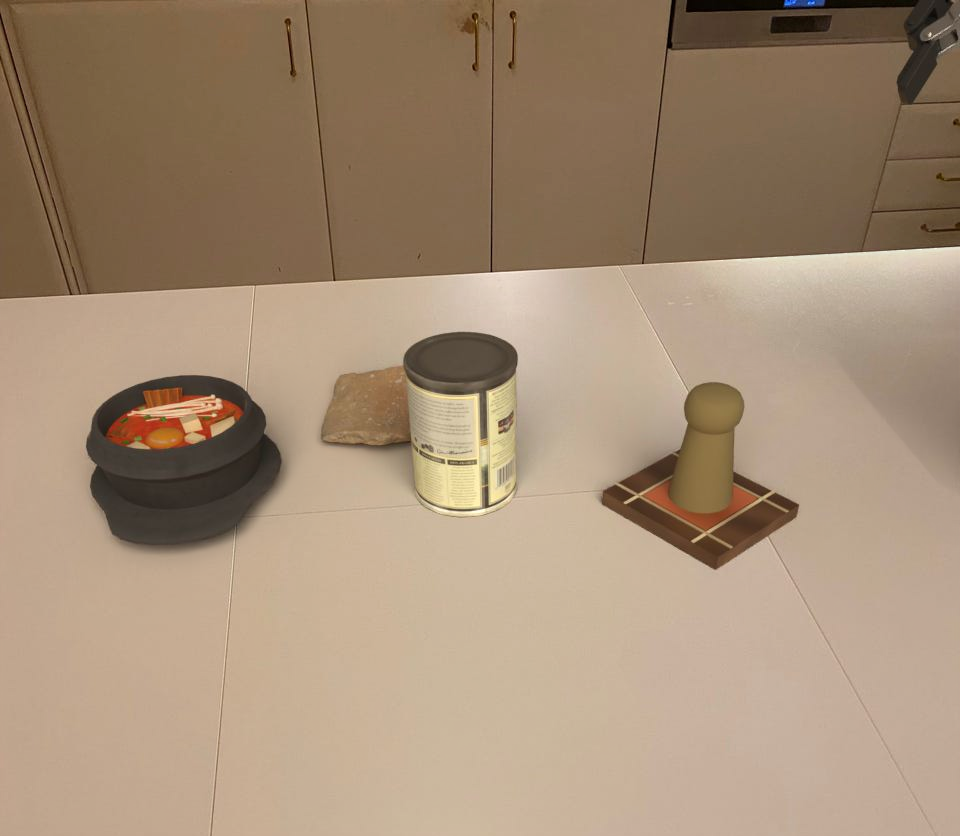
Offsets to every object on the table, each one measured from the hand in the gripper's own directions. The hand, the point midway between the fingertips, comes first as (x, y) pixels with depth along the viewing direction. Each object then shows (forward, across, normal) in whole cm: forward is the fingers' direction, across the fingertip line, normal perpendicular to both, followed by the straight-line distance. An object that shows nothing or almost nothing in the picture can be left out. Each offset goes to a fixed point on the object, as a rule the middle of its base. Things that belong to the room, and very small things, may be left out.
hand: (953, 107), depth 75 cm
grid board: (+34, +7, -13) cm, 37 cm away
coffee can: (+44, +25, -4) cm, 51 cm away
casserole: (+58, +44, +10) cm, 74 cm away
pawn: (+33, +7, -13) cm, 36 cm away
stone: (+43, +42, -5) cm, 60 cm away
